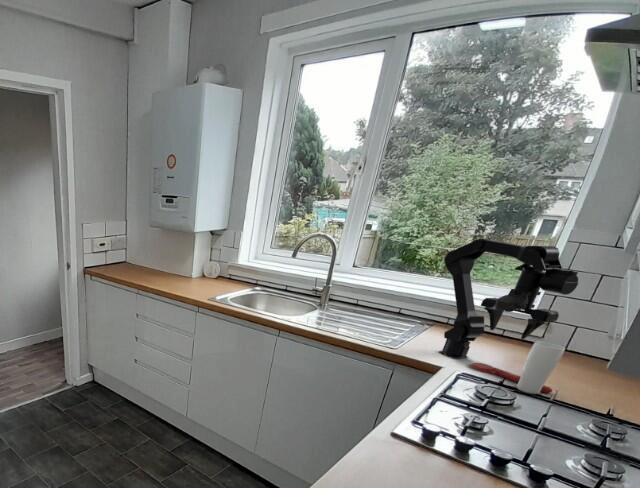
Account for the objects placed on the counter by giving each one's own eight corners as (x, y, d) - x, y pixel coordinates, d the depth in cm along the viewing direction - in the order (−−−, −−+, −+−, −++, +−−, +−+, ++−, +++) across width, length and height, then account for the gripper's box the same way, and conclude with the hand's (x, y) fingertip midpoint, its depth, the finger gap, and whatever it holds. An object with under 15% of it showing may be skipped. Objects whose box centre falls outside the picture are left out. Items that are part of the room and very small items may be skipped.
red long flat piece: (466, 366, 142) (469, 360, 141) (479, 365, 143) (481, 359, 143) (543, 395, 122) (546, 389, 121) (556, 393, 124) (559, 387, 123)
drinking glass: (524, 385, 128) (546, 341, 122) (548, 395, 122) (572, 349, 116) (506, 386, 127) (528, 341, 121) (529, 396, 121) (553, 349, 115)
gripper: (478, 281, 134) (460, 326, 140) (545, 294, 117) (522, 345, 124) (501, 281, 137) (483, 325, 143) (570, 294, 121) (546, 343, 127)
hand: (506, 334), depth 134 cm, fingers open, 9 cm apart
